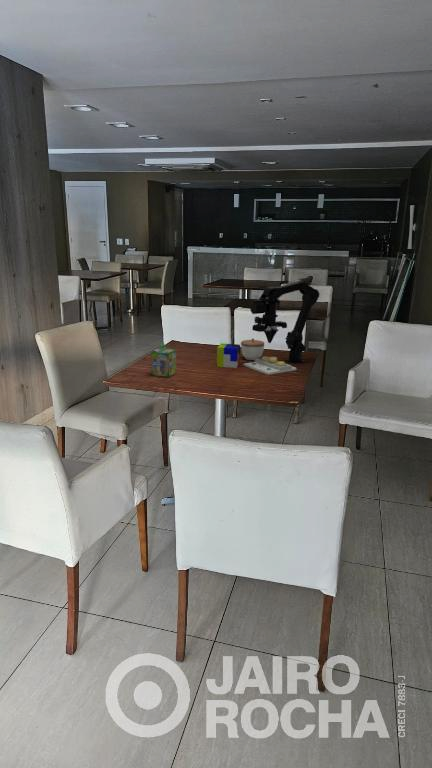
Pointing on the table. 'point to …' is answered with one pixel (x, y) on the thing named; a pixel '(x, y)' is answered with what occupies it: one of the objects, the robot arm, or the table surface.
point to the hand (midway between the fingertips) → (269, 342)
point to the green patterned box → (163, 361)
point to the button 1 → (265, 358)
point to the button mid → (273, 360)
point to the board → (268, 367)
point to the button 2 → (280, 363)
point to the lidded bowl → (252, 349)
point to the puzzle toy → (228, 355)
